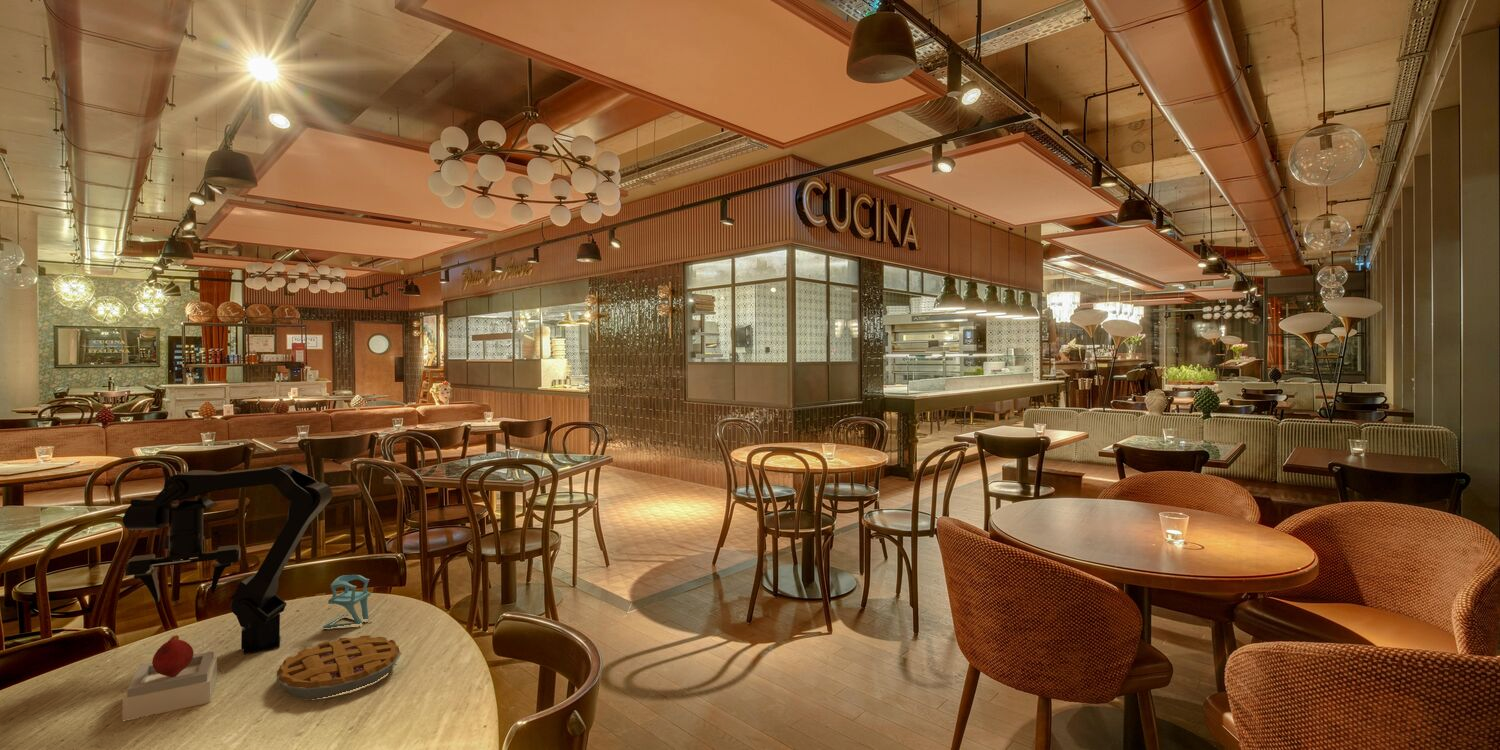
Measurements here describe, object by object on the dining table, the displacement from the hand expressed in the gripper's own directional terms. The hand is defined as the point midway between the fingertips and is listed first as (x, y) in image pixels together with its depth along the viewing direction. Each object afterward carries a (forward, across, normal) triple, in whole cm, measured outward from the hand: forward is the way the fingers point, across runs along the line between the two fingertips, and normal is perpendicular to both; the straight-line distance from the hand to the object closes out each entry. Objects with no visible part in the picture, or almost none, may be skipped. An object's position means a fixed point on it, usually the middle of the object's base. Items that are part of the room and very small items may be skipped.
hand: (185, 597), depth 141 cm
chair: (+12, -31, +2) cm, 33 cm away
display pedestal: (+12, -1, +24) cm, 27 cm away
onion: (+8, -1, +24) cm, 25 cm away
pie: (+12, -28, +31) cm, 44 cm away
